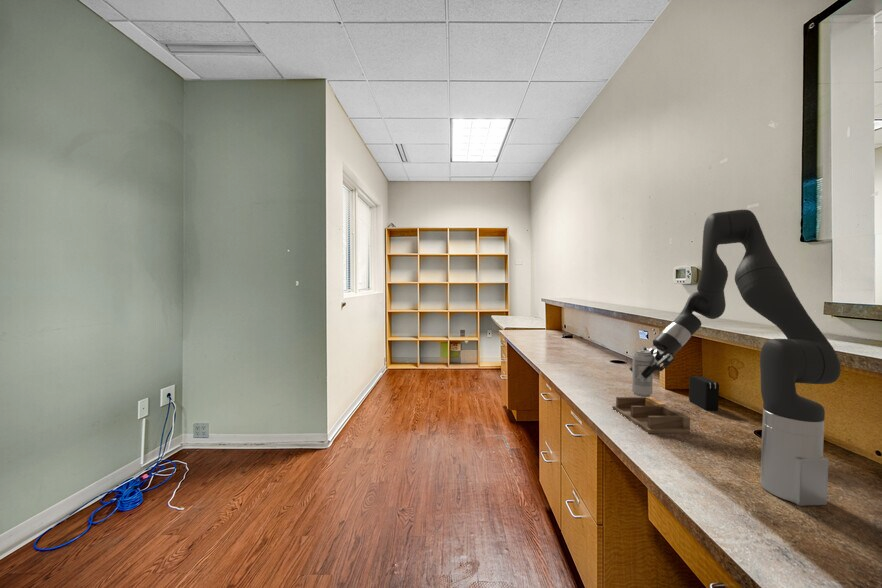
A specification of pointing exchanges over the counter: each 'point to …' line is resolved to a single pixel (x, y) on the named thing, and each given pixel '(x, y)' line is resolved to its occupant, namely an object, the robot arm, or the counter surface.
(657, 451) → the counter surface
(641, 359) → the energy drink can
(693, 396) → the electronic device
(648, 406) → the divided wooden tray
